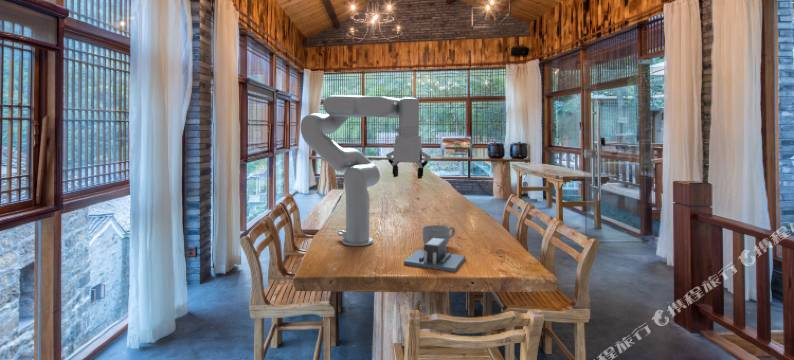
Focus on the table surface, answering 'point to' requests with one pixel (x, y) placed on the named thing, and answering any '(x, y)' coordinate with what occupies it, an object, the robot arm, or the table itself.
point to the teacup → (437, 232)
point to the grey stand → (447, 263)
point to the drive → (435, 249)
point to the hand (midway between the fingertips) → (407, 177)
